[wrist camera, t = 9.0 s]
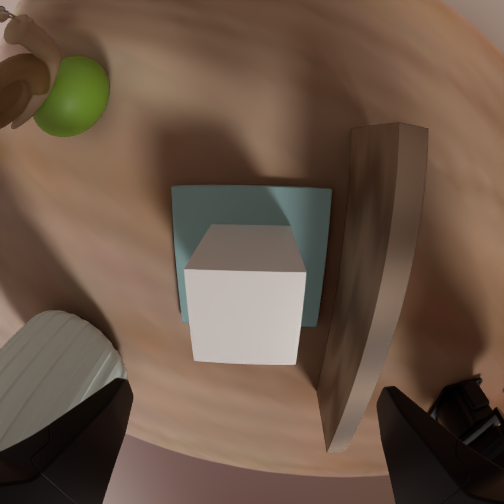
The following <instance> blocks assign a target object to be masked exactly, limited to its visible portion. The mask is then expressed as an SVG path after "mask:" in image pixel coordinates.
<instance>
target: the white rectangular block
mask: <svg viewBox="0 0 504 504" xmlns="http://www.w3.org/2000/svg"><path fill="white" fill-rule="evenodd" d="M184 277H185V287H186V297H187V307H188V316H189V325H190V333H191V341H192V348H193V356H194V361H203V362H217V363H235V364H266V365H296V359H297V352H298V344H299V336H300V328H301V320H302V311H303V302H304V293H305V283H306V269H305V266H304V263H303V260H302V257H301V254H300V251H299V248H298V245H297V242H296V239H295V236H294V233H293V230H292V227H291V226H280V225H234V224H211V226H210V227H209V229H208V231H207V232H206V234H205V235H204V237H203V239H202V240H201V242H200V243H199V245H198V247H197V248H196V250H195V252H194V253H193V255H192V256H191V258H190V260H189V261H188V263H187V265H186V266H185V268H184Z"/></svg>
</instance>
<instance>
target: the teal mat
mask: <svg viewBox="0 0 504 504" xmlns="http://www.w3.org/2000/svg"><path fill="white" fill-rule="evenodd" d="M171 193H172V214H173V230H174V245H175V257H176V268H177V279H178V289H179V298H180V307H181V315H182V322H186V323H189V316H188V307H187V297H186V287H185V277H184V268H185V266H186V265H187V263H188V261H189V260H190V258H191V256H192V255H193V253H194V252H195V250H196V248H197V247H198V245H199V243H200V242H201V240H202V239H203V237H204V235H205V234H206V232H207V231H208V229H209V227H210V226H211V224H234V225H280V226H291V227H292V230H293V233H294V236H295V239H296V242H297V245H298V248H299V251H300V254H301V257H302V260H303V263H304V266H305V269H306V283H305V293H304V302H303V311H302V320H301V327H317V321H318V314H319V307H320V300H321V293H322V285H323V277H324V269H325V261H326V251H327V242H328V232H329V221H330V209H331V196H332V190H331V189H330V188H315V187H295V186H267V185H174V186H172V187H171Z"/></svg>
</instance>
